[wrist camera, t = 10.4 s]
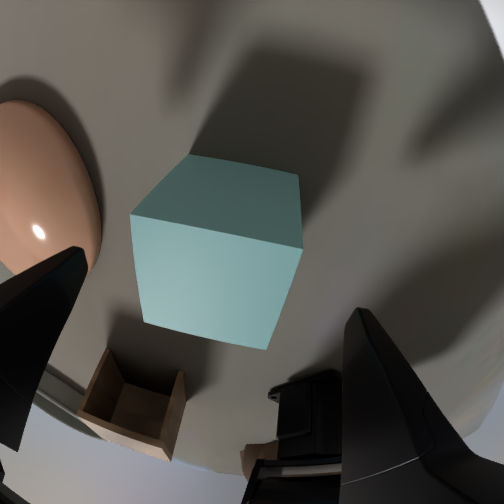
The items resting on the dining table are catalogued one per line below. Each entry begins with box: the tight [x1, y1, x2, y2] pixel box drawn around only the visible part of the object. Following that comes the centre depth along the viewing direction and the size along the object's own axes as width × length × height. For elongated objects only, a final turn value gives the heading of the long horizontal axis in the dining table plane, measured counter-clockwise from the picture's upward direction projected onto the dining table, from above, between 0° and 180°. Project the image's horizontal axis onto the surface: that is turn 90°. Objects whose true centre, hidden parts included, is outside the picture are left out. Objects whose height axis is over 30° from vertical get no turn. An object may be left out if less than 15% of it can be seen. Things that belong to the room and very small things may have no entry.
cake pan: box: [33, 370, 108, 441], centre depth 36 cm, size 25×25×4 cm
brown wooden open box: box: [76, 348, 186, 462], centre depth 21 cm, size 7×7×7 cm
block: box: [130, 154, 303, 350], centre depth 10 cm, size 4×4×5 cm
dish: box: [0, 99, 101, 277], centre depth 12 cm, size 13×13×1 cm
